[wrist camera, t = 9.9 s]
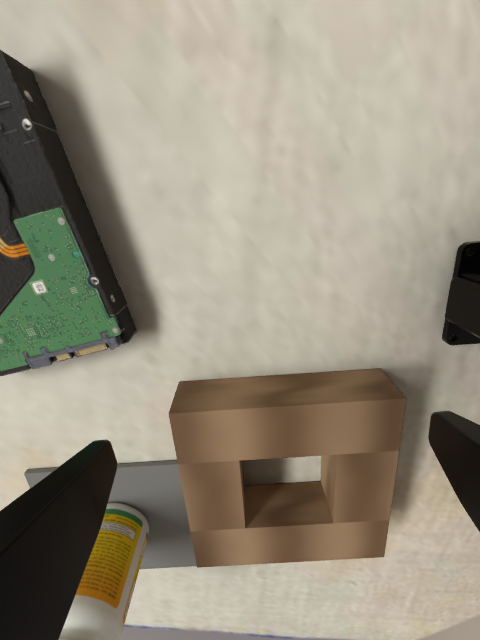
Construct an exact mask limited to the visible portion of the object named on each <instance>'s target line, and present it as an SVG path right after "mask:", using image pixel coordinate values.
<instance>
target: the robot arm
mask: <svg viewBox="0 0 480 640" xmlns="http://www.w3.org/2000/svg"><path fill="white" fill-rule="evenodd" d="M469 248H470V252H469V253H468V254H467V255H466V251H467V249H469ZM452 335H454V336H453V338H452V339H450V337H451V336H452ZM442 339H443V341H445V342H446V343H448V344H449V345H462V344H477V343H480V241H478V242H466V243H463V244H462V245H461V246H460V247H459V248H458V251H457V256H456V261H455V267H454V273H453V278H452V281H451V285H450V290H449V296H448V302H447V307H446V313H445V324H444V329H443V335H442ZM429 442H430V445H431V447H432V449H433V451H434V453H435V455H436V457H437V459H438V461H439V463H440V464H441V466H442V468H443V470H444V472H445V474H446V476H447V478H448V480H449V482H450V484H451V486H452V487H453V489H454V491H455V493H456V495H457V497H458V499H459V500H460V502H461V504H462V505H463V507H464V508H465V510H466V512H467V513H468V515H469V516H470V518H471V519H472V521H473V523H474V524H475V526H476V527H477V529H478V530H479V532H480V425H478V424H476V423H474V422H472V421H470V420H468V419H465V418H463V417H461V416H459V415H457V414H455V413H453V412H450V411H440V412H434V413H432V415H431V420H430V428H429ZM116 471H117V460H116V457H115V454H114V451H113V448H112V445H111V443H110V441H109V440H97V441H93V442H92V443H90V444H89V445H88V446H86V447H85V448H84V449H82V450H81V451H80V452H78V453H77V454H76V455H74V456H73V457H72V458H70V459H69V460H68V461H66V462H65V463H64V464H62V465H61V466H60V467H58V468H57V469H56V470H54V471H53V472H52V473H50V474H49V475H48V476H46V477H45V478H44V479H42V480H41V481H40V482H38V483H37V484H36V485H34V486H33V487H32V488H30V489H29V490H28V491H26V492H25V493H24V494H22V495H21V496H20V497H18V498H17V499H16V500H14V501H13V502H12V503H10V504H9V505H8V506H6V507H5V508H4V509H2V510H1V511H0V640H59V637H60V635H61V632H62V629H63V627H64V624H65V621H66V619H67V616H68V613H69V611H70V608H71V605H72V603H73V600H74V597H75V595H76V592H77V590H78V587H79V584H80V582H81V579H82V576H83V574H84V571H85V568H86V566H87V563H88V560H89V558H90V555H91V552H92V550H93V547H94V545H95V542H96V539H97V537H98V534H99V531H100V528H101V525H102V522H103V519H104V515H105V511H106V508H107V504H108V500H109V497H110V493H111V489H112V486H113V482H114V478H115V475H116Z"/></svg>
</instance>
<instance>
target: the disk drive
mask: <svg viewBox="0 0 480 640" xmlns="http://www.w3.org/2000/svg"><path fill="white" fill-rule="evenodd" d="M136 331H137V330H136V327H135V325H134V322H133V320H132V317H131V315H130V312H129V310H128V307H127V302H126V300H125V298H124V295H123V292H122V290H121V288H120V286H119V285H118V283H117V279H116V277H115V275H114V272H113V270H112V267H111V265H110V263H109V260H108V258H107V255H106V253H105V251H104V248H103V245H102V243H101V241H100V238H99V235H98V233H97V230H96V228H95V225H94V223H93V220H92V218H91V216H90V213H89V210H88V208H87V206H86V203H85V201H84V198H83V196H82V193H81V191H80V189H79V186H78V184H77V181H76V179H75V177H74V174H73V171H72V169H71V167H70V164H69V162H68V159H67V156H66V154H65V151H64V149H63V146H62V144H61V141H60V139H59V137H58V134H57V132H56V127H55V124H54V122H53V119H52V116H51V114H50V112H49V110H48V107H47V104H46V102H45V100H44V99H43V97H42V94H41V92H40V89H39V87H38V84H37V82H36V81H35V77H34V74H33V72H32V71H31V70H30V69H29V68H27V67H26V66H24V65H23V64H21V63H20V62H18V61H17V60H15V59H14V58H12V57H11V56H9V55H7V54H6V53H4V52H3V51H1V50H0V376H4V375H7V374H12V373H17V372H21V371H25V370H29V369H31V368H32V369H36V368H40V367H43V366H48V365H51V364H52V362H55V361H57V360H58V361H62V360H66V359H70V358H73V356H77V357H79V356H82V355H86V354H90V353H94V352H98V351H103V350H107V349H108V347H110V349H111V350H112V349H114V348H115V347H118V346H119V345H120V344H124V343H127V342H129V341H130V340H131V338H132V337H133V336H134V334H135V333H136Z"/></svg>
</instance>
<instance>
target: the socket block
mask: <svg viewBox="0 0 480 640" xmlns="http://www.w3.org/2000/svg"><path fill="white" fill-rule="evenodd" d="M406 400H407V398H406V397H405V396H404V395H403V394H402V392H401V391H400V390H399V389H398V388H397V387H396V386H395V384H394V383H393V382H392V381H391V380H390V379H389V378H388V376H387V375H386V374H385V373H384V372H383V371H382V370H381V368H380V369H365V370H350V371H335V372H320V373H305V374H289V375H274V376H259V377H244V378H229V379H214V380H198V381H183V382H179V384H178V387H177V390H176V393H175V396H174V399H173V402H172V405H171V408H170V411H169V418H170V423H171V429H172V434H173V440H174V445H175V450H176V456H177V461H178V467H179V472H180V478H181V483H182V488H183V494H184V499H185V505H186V510H187V516H188V521H189V526H190V532H191V537H192V543H193V548H194V554H195V559H196V564H197V567H213V566H231V565H249V564H267V563H285V562H303V561H321V560H339V559H357V558H375V557H384V554H385V547H386V540H387V533H388V526H389V519H390V512H391V505H392V498H393V491H394V484H395V477H396V470H397V463H398V456H399V449H400V442H401V435H402V428H403V421H404V414H405V407H406ZM321 455H322V457H321V481H317V482H300V483H284V484H267V485H250V486H244V476H243V465H242V460H256V459H273V458H289V457H305V456H321Z"/></svg>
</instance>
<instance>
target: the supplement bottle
mask: <svg viewBox="0 0 480 640" xmlns="http://www.w3.org/2000/svg"><path fill="white" fill-rule="evenodd" d="M148 535H149V525H148V522H147V520H146V518H145V516H144V515H143V514H142V513H141V512H139V511H138V510H136V509H134V508H132V507H131V506H128V505H126V504H121V503H108V504H107V508H106V511H105V515H104V519H103V522H102V525H101V528H100V531H99V534H98V537H97V539H96V542H95V545H94V547H93V550H92V552H91V555H90V558H89V560H88V563H87V566H86V568H85V571H84V574H83V576H82V579H81V582H80V584H79V587H78V590H77V592H76V595H75V597H74V600H73V603H72V605H71V608H70V611H69V613H68V616H67V619H66V621H65V624H64V627H63V629H62V632H61V635H60V637H59V640H119V638H120V636H121V633H122V630H123V626H124V623H125V619H126V616H127V612H128V609H129V605H130V601H131V598H132V594H133V591H134V587H135V583H136V579H137V576H138V572H139V569H140V565H141V562H142V558H143V554H144V551H145V547H146V543H147V539H148Z"/></svg>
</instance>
